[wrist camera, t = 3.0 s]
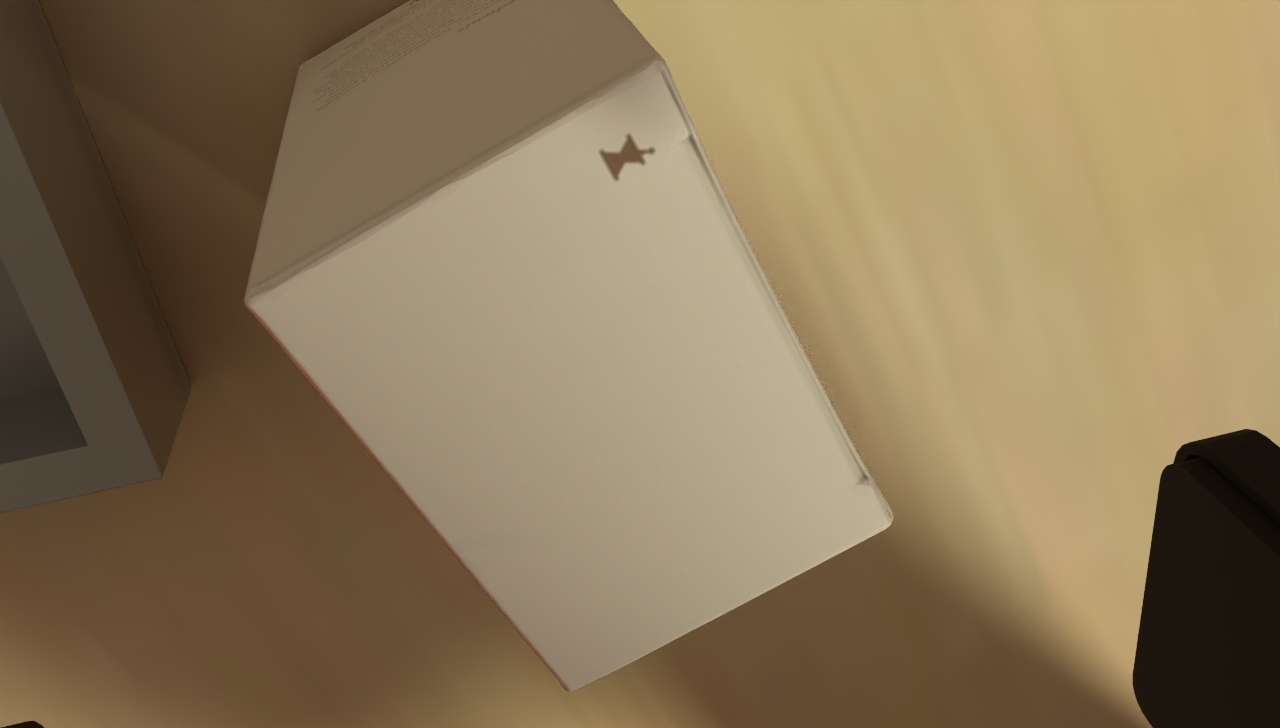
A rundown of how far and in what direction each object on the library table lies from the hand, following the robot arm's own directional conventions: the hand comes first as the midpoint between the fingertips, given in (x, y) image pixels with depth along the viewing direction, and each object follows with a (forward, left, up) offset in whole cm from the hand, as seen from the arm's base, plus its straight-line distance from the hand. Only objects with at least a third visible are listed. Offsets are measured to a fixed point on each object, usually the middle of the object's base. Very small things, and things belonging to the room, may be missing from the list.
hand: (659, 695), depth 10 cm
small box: (0, +1, -16) cm, 16 cm away
